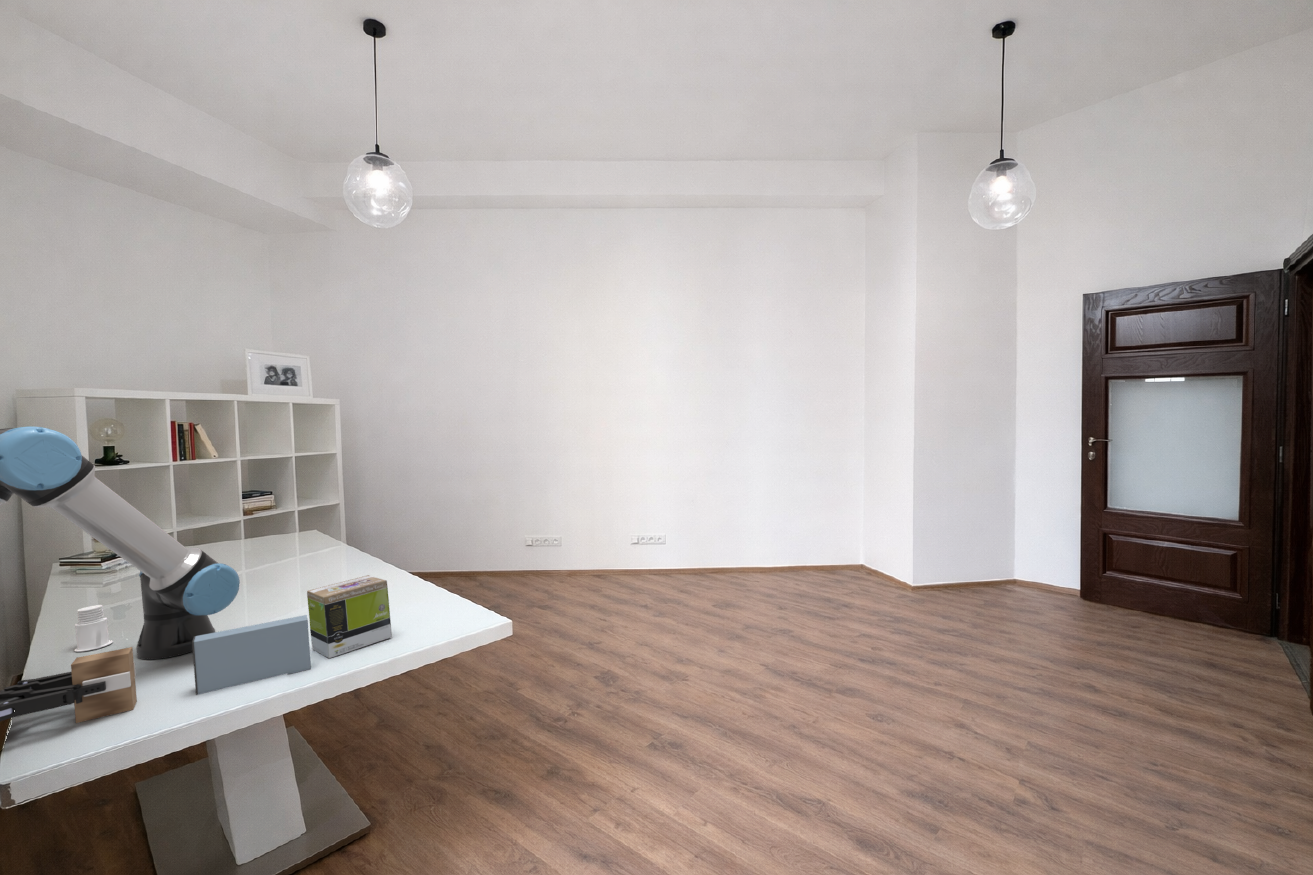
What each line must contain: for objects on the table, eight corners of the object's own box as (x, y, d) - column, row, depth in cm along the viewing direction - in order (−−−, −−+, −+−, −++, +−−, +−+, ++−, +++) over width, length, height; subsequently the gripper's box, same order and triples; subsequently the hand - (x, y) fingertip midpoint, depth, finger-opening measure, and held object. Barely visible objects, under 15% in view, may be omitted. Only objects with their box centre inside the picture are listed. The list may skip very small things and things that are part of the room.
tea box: (373, 630, 153) (369, 573, 152) (392, 638, 146) (389, 579, 146) (310, 649, 141) (306, 588, 140) (328, 660, 135) (323, 596, 134)
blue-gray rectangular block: (196, 696, 119) (191, 642, 118) (198, 688, 122) (194, 636, 122) (311, 669, 130) (307, 619, 129) (309, 662, 133) (306, 614, 133)
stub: (75, 723, 109) (70, 664, 109) (81, 714, 113) (76, 657, 112) (133, 709, 114) (128, 653, 113) (136, 701, 117) (132, 646, 116)
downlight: (118, 644, 149) (114, 604, 149) (81, 654, 143) (76, 613, 143) (106, 640, 154) (102, 602, 153) (69, 650, 148) (65, 610, 147)
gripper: (-24, 712, 110) (141, 676, 123) (-68, 756, 95) (125, 711, 108) (-28, 672, 109) (138, 641, 122) (-73, 711, 95) (122, 670, 108)
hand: (132, 674), depth 115 cm, fingers open, 4 cm apart
